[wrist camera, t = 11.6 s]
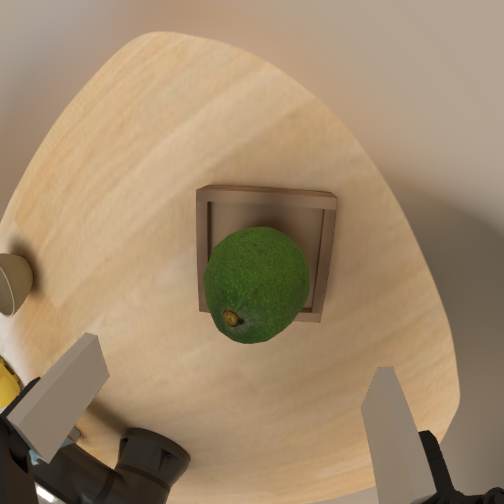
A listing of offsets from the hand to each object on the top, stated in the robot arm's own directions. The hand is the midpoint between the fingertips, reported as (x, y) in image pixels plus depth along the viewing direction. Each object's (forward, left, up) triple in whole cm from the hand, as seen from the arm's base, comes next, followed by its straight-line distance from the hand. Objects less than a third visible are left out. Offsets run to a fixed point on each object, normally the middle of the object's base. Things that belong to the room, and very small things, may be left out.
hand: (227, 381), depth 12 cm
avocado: (0, 0, -16) cm, 16 cm away
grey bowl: (-39, -7, -19) cm, 44 cm away
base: (0, 0, -19) cm, 19 cm away
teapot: (-68, -42, -19) cm, 82 cm away
